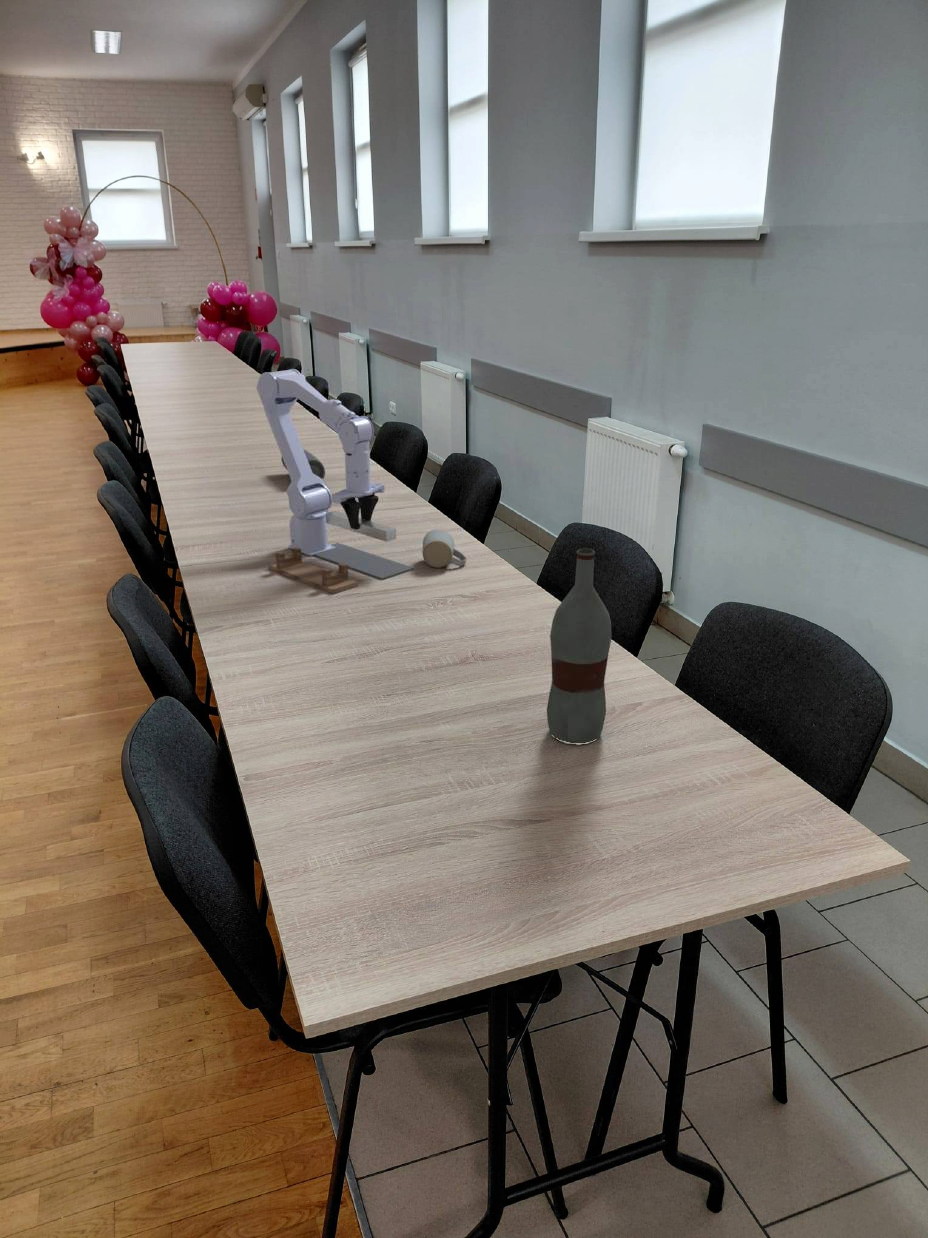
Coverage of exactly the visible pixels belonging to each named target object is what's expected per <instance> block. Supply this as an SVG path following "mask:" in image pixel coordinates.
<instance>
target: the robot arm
mask: <svg viewBox="0 0 928 1238" xmlns="http://www.w3.org/2000/svg"><path fill="white" fill-rule="evenodd" d="M256 391H257V393H258V396H259V398H260V401H261V404H262V406H263V408H264V410H263V411H264V413H265V416H266V419H267V422H268V424H269V427H270V429H271V431H272V434H273V437H274V440H275V442H276V445H277V447H278V449H279V451H280V454H281V458H282V457H283V460H284V462H285V465H286V468H287V469H286V468H285V469H286V471H287V472H288V475H289V477H290V484H289V485H288V487H287V489H286V494H287V497H288V507H289V510H290V511H291V513H293V514H292V515H291V517H290V520H289V535H290V537H289V538H290V545H288V546H287V547H288V549H291V550H293V549H292V548H294V547H297V548H300V549H301V554H305V555H307V556H309V557H310V556H313V555H314V554H317V553H320V552H324V551H327V550H331V549H334V548H335V547H334V546H331V545H332V544H328V543H329V537H328V536H329V535H328V523H326V513H328V512H329V509H330V508H331V507H332V505H333V503H334V504H340V505H341V507H342V508H343V511H344V513H345V514H346V515H347V517H348V520H349V524H350V527H351V528H352V529H355V530H357V529H358V527H359V518H362V519H365V520H368V521H372V517H373V514H374V510H375V508H376V506H377V504H378V502H379V496H377V495H376V494H379V493H381V494H383V493H385V489H386V488H385V484H383V483H380V482H379V483H374V484H373V483H372V482H371V458H370V457H371V455H370V454H371V452H370V441H371V440H372V439H373V438H374V435H375V427H374V424H373V422H372V421H371V420H370V418H369V417H367V416H366V415H361V416H359V415H357V414H356V413H355V412H354V411H351V410H350V409H348V408H347V407H346V406H344V405H342V401H340V400H339V399H327V398H326V397H324V395H322V394H321V393H320V392H319V391H318V390H317V389H316V388H315V387H313V386H312V385H311V384H310V383H309V382H308V381H307V380H306V377H305V375H304V374H302V373H300V371H299V370H297V369H295V368H290V369H287V370H279V371H271V372H266V371H265V372H263V373H261V374H260V375H259V377H258V380H257V384H256ZM297 400H300V401H301V402H302V403H304V404H305V405H307V406H309V407H310V408H312V409H313V410H315V411H316V412H318V417H319V420H321V422H323V423H324V424H325V425H326V426H328V427H329V428H331V429H332V430H333V431H335V432H336V433H337V435H338V439H339V441H340V442H341V446H342V450H343V453H344V466H345V469H344V470H345V488H344V489H342V490H340V491H338V492H335V493H331V491H330V489H329V488H328V487H327V486H326V485H325V482H324V479H321V478H320V477H318V476H316V475H314V474H313V473H312V470H311V468H310V465H309V463H308V460H307V458H306V455H305V452H304V450H305V449H304V447H303V445H302V443H301V439H300V438H299V434H298V432H297V430H296V428H295V425H294V422H293V420H292V417H291V414H290V411H291V408H292V407H293V406H294V405H295V403H296V401H297ZM303 449H304V450H303Z"/></svg>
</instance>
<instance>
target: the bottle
mask: <svg viewBox="0 0 928 1238" xmlns="http://www.w3.org/2000/svg"><path fill="white" fill-rule="evenodd" d="M595 554H596V551H595V550H594V549H592V548H588V547H587V548H586V547H584V548H580V549H578V550H576V566H575V579H574V580H575V581H574V586H573V587H572V588H571V589H570V591H569V592H568V593H567V595H566V596H565V597H564V598H563V599H562V601H561V603H560V604H559V605H558V607H557V608H556V610H555V613H554V616H553V618H552V621H551V629H550V634H549V640H550V641H549V642H550V650H551V651H550V652H551V653H550V655H551V684H550V689H549V694H548V701H547V706H546V715H547V716H546V717H547V719H546V720H547V726H548V729H549V733H550V735H551V734H552V735H553V736H554V737H555V738H558V739H559V740H562V741H566V742H570V743H586V742H590V741H593V740H595V739H597V738H598V737H599V736H600V737H601V734H602V732H603V729H604V724H605V720H606V719H605V718H606V715H607V702H606V701H607V699H606V689H605V679H606V672H607V666H608V660H609V652H610V648H611V643H612V635H613V634H612V621H611V617H610V613H609V611H608V610H607V608H606V606H605V604H604V602H603V601H602V599H601V598H600V596H599V594H598V592H597V591H596V588H595V587H594V570H595V569H594V567H595ZM600 737H599V738H600ZM599 738H598V739H599ZM598 739H597V740H598Z"/></svg>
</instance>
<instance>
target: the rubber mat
mask: <svg viewBox="0 0 928 1238" xmlns="http://www.w3.org/2000/svg"><path fill="white" fill-rule="evenodd" d="M330 545H331V546H334V547H335V548H334V549H331V550H327V551H324V552H320V553H317V554H314V555H312V556H314V557H316V558H319V559H322V560H325V561H328V562H331V563H334V564H337V565H338V564H341V563H343V564H346V565H348V569H351V570H353V571H356V572H358V573H359V572H360V573H362V574H364V575H368V576H371V577H373V578H376V579H378V580H382V581H383V580H386V579H389V578H392V577H395V576H399V575H402V574H405V573H407V572H411V571H413V570H415V568H414V567H412V566H409V565H406V564H404V563H400V562H397V561H394V560H392V559H388V558H385V557H382V556H379V555H376V554H374V553H370V552H368V551H367V552H366V551H364V550H360V549H357V548H355V547H352V546H350V545H346V544H344V543H340V542H336V543H332V544H330Z"/></svg>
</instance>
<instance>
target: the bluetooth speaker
mask: <svg viewBox="0 0 928 1238" xmlns="http://www.w3.org/2000/svg"><path fill="white" fill-rule="evenodd" d="M303 450H304V452H305V455H306V458H307V460H308V463H309V465H310V468H311V470H312V473H313V474H314V475H316V476H318V477H320V478H321V479H323V480H324V478H325V477H326V470H325V466H324V465H323V463H322V462H321V461H320V460H319V459H318V458H317V457H316V456H315V455H313V454H312V453H311V452H309V451H308V450H306V449H304V448H303ZM281 463H282V466H283V467H284V468H285V470H287V468H286V465H285V462H284V460H283V457H282V456H281Z"/></svg>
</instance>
